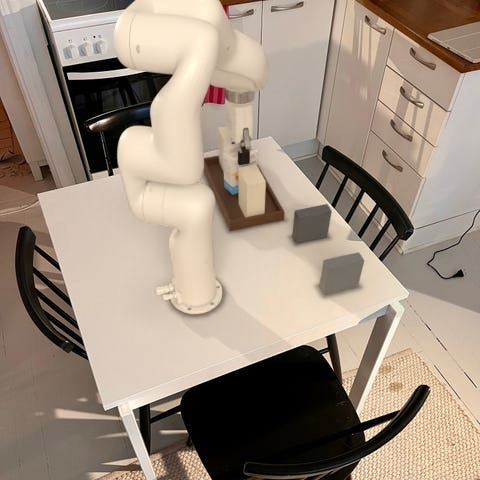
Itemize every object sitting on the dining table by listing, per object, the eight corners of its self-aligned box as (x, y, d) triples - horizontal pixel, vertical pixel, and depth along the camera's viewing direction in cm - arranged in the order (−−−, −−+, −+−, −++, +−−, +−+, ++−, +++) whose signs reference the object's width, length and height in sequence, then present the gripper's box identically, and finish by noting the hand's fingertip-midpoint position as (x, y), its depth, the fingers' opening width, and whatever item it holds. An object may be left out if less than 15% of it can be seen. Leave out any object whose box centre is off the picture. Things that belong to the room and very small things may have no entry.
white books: (247, 221, 137) (247, 184, 128) (219, 163, 155) (217, 127, 146) (264, 218, 138) (265, 181, 129) (234, 160, 156) (234, 124, 147)
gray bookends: (323, 295, 121) (328, 268, 115) (291, 237, 135) (294, 210, 128) (357, 287, 123) (364, 260, 116) (322, 230, 136) (327, 203, 130)
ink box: (232, 196, 143) (232, 149, 132) (223, 187, 146) (221, 141, 135) (257, 186, 146) (258, 140, 135) (247, 178, 149) (248, 131, 138)
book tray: (229, 231, 136) (229, 222, 134) (201, 166, 156) (201, 158, 153) (283, 220, 139) (284, 211, 137) (249, 158, 159) (249, 150, 156)
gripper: (216, 79, 129) (218, 143, 143) (235, 112, 119) (236, 177, 133) (244, 75, 130) (244, 138, 144) (265, 107, 120) (263, 172, 134)
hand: (240, 156), depth 138 cm, fingers closed on ink box, 6 cm apart
